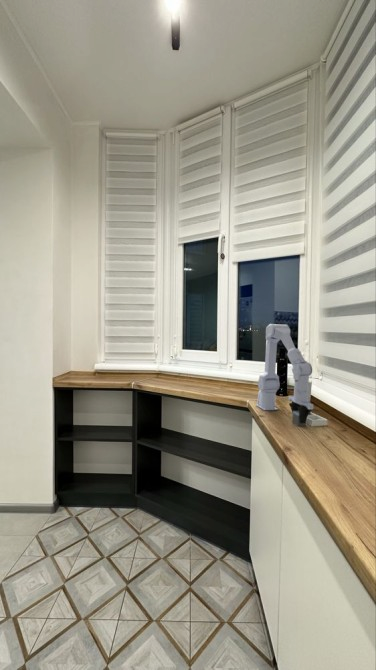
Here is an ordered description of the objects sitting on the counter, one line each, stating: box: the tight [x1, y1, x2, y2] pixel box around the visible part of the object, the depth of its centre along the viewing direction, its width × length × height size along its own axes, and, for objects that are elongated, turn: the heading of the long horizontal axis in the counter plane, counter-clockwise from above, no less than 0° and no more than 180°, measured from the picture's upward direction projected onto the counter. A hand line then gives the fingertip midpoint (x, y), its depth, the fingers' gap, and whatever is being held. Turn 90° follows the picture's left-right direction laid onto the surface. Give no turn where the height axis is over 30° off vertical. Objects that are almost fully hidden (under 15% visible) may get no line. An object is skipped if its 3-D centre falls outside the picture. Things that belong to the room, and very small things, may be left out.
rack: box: [291, 411, 328, 427], centre depth 137 cm, size 14×8×2 cm, turn 15°
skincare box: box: [308, 380, 313, 403], centre depth 157 cm, size 8×6×15 cm
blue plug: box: [292, 411, 307, 427], centre depth 131 cm, size 4×4×6 cm
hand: (299, 421), depth 131 cm, fingers closed on blue plug, 4 cm apart
